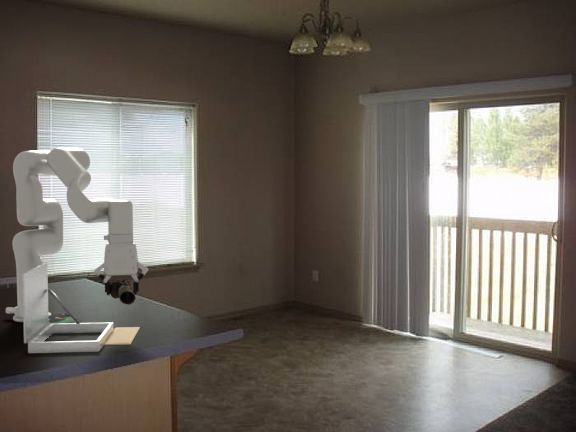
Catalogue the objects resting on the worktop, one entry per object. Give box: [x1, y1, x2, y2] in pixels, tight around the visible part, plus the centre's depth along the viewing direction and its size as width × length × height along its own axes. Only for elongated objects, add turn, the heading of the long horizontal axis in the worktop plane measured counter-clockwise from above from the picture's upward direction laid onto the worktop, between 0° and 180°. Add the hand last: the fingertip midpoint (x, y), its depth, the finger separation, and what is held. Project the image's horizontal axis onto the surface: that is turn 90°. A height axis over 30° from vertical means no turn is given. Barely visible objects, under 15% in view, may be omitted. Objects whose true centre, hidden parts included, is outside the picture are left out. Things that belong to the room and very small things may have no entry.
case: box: [22, 262, 115, 354], centre depth 192 cm, size 21×23×23 cm
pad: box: [103, 326, 141, 346], centre depth 199 cm, size 8×20×1 cm, turn 5°
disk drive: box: [49, 312, 83, 324], centre depth 214 cm, size 10×3×15 cm
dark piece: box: [110, 278, 137, 306], centre depth 197 cm, size 18×7×6 cm, turn 19°
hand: (122, 294), depth 198 cm, fingers closed on dark piece, 7 cm apart
